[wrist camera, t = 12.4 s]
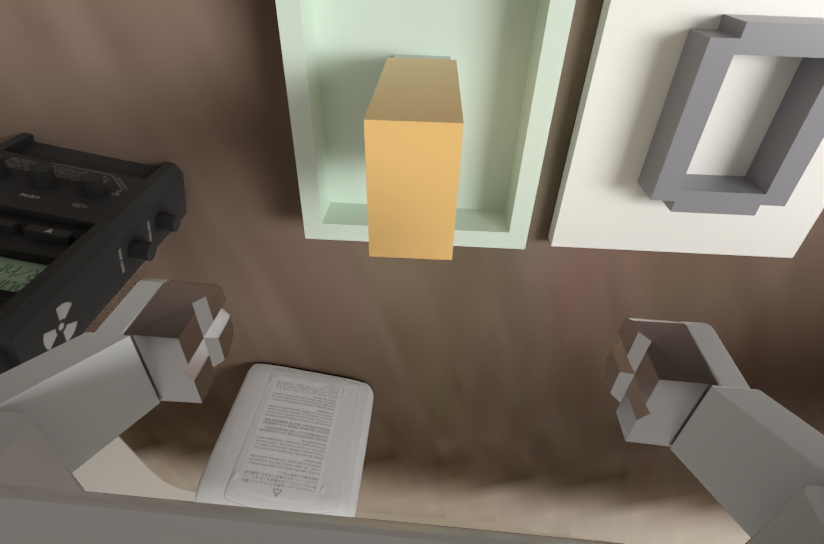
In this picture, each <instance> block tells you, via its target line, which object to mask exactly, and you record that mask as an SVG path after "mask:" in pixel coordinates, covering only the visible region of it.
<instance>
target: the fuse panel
mask: <svg viewBox="0 0 824 544" xmlns="http://www.w3.org/2000/svg"><path fill="white" fill-rule="evenodd" d="M823 208H824V0H604V2H603V6H602V10H601V14H600V19H599V23H598V27H597V31H596V36H595V40H594V44H593V48H592V53H591V57H590V61H589V65H588V70H587V74H586V78H585V82H584V87H583V91H582V95H581V99H580V104H579V108H578V112H577V116H576V121H575V125H574V129H573V133H572V137H571V142H570V146H569V150H568V154H567V159H566V163H565V167H564V171H563V176H562V180H561V184H560V188H559V193H558V197H557V201H556V205H555V210H554V214H553V218H552V222H551V227H550V231H549V235H548V238H549V241H550V244H551V246H560V247H581V248H601V249H622V250H642V251H662V252H683V253H703V254H724V255H744V256H764V257H785V258H793V256H794V255H795V253H796V252H797V250H798V248H799V247H800V245H801V244H802V242H803V240H804V239H805V237H806V235H807V234H808V232H809V231H810V229H811V227H812V226H813V224H814V223H815V221H816V219H817V218H818V216H819V215H820V213H821V211H822V210H823Z"/></svg>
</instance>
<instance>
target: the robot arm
mask: <svg viewBox="0 0 824 544" xmlns="http://www.w3.org/2000/svg"><path fill="white" fill-rule="evenodd" d="M225 301H226V298H225V295H224V292H223V288H222V287H220V286H218V285H215V284H206V283H196V282H186V281H177V280H163V279H153V278H145V279H142V280H140V281H139V282H138V283H137V284H136V285H135V286H134V287H133V288H132V290H131V291H130V292H129V293H128V294H127V295H126V297H125V298H124V299H123V300H122V301H121V302H120V304H119V305H118V306H117V307H116V308H115V309H114V310H113V312H112V313H111V314H110V315H109V316H108V317H107V319H106V320H105V321H104V322H103V323H102V324H101V325H100V327H99V328H98V329H97V330H96V331H95V332H94V333H91V332H86V333H84V334H82V335H80V336H78V337H76V338H73V339H71V340H69V341H67V342H65V343H63V344H61V345H59V346H57V347H55V348H53V349H51V350H49V351H47V352H45V353H43V354H41V355H39V356H37V357H35V358H33V359H31V360H29V361H27V362H25V363H23V364H21V365H19V366H17V367H14V368H12V369H10V370H8V371H6V372H4V373H2V374H0V544H622V543H612V542H602V541H592V540H581V539H571V538H560V537H551V536H540V535H530V534H520V533H510V532H499V531H488V530H479V529H469V528H457V527H448V526H438V525H427V524H417V523H407V522H395V521H386V520H375V519H365V518H355V517H345V516H334V515H324V514H313V513H303V512H293V511H282V510H272V509H262V508H252V507H241V506H231V505H221V504H211V503H200V502H190V501H179V500H169V499H159V498H149V497H138V496H129V495H118V494H108V493H98V492H87V491H85V490H84V489H83V487H82V486H81V485H80V483H79V482H78V481H77V479H76V478H75V477H74V476H73V474H72V472H73V471H75V470H76V469H77V468H78V467H80V466H81V465H82V464H83V463H85V462H86V461H87V460H88V459H90V458H91V457H92V456H94V455H95V454H96V453H97V452H99V451H100V450H101V449H102V448H104V447H105V446H106V445H107V444H109V443H110V442H111V441H112V440H114V439H115V438H116V437H118V436H119V435H120V434H121V433H123V432H124V431H125V430H126V429H128V428H129V427H130V426H131V425H133V424H134V423H135V422H136V421H138V420H139V419H140V418H142V417H143V416H144V415H145V414H147V413H148V412H149V411H150V410H152V409H153V408H154V407H155V406H157V405H158V404H159V403H160V401H175V402H191V403H202V402H203V400H204V399H205V397H206V395H207V393H208V391H209V389H210V387H211V385H212V383H213V381H214V379H215V378H216V375H215V372H214V369H213V367H215V366H216V365H218V364H219V363H221V362H222V361H224V360H225V358H226V356H227V354H228V352H229V350H230V346H231V342H232V337H233V325H232V321H231V316H230V315H229V314H228V313H227V312H225V311H224V310H223V309H222V306H223V304H224V303H225ZM618 333H619V336H620V339H621V342H619V343H618V344H616V345H615V346H613V347H612V348H611V350H610V353H609V355H608V358H607V364H606V379H607V385H608V388H609V391H610V394H611V395H613V396H614V397H615V398H616V399H617V400H618V401H619V402H620V405H619V407H618V409H617V411H616V414H617V417H618V420H619V423H620V426H621V429H622V432H623V435H624V438H625V441H627V442H636V443H644V444H653V445H662V446H670V447H671V448H670V449H671V450H672V451H673V453H674V454H675V455H676V456H677V457H678V458H679V459H680V460H681V461H682V462H683V464H684V465H685V466H686V467H687V468H688V469H689V470H690V471H691V472H692V473H693V475H694V476H695V477H696V478H697V479H698V480H699V481H700V482H701V483H702V484H703V486H704V487H705V488H706V489H707V490H708V491H709V492H710V493H711V494H712V495H713V497H714V498H715V499H716V500H717V501H718V502H719V503H720V504H721V505H722V506H723V508H724V509H725V510H726V511H727V512H728V513H729V514H730V515H731V516H732V517H733V519H734V520H735V521H736V522H737V523H738V524H739V525H740V526H741V527H742V528H743V530H744V531H745V532H746V533H747V534H748V535H749V536H750V537H751V539H750V540H748V541H747V542H746V543H745V544H824V435H823V434H822V433H820V432H819V431H817V430H816V429H814V428H813V427H812V426H810V425H809V424H807V423H806V422H804V421H803V420H802V419H800V418H799V417H797V416H796V415H795V414H793V413H792V412H790V411H789V410H787V409H786V408H785V407H783V406H782V405H780V404H779V403H777V402H776V401H775V400H773V399H772V398H770V397H769V396H767V395H766V394H765V393H763V392H762V391H760V390H758V389H750V387H749V385H748V384H747V382H746V381H745V379H744V377H743V376H742V374H741V373H740V371H739V369H738V368H737V366H736V364H735V363H734V361H733V360H732V358H731V356H730V355H729V353H728V352H727V350H726V348H725V347H724V345H723V343H722V342H721V340H720V339H719V337H718V335H717V334H716V332H715V330H714V329H713V328H712V327H711V326H710V325H708V324H707V323H698V322H682V321H680V322H676V321H662V320H649V319H635V318H627V319H626V320H625V321H624V322H623V323H622V325H621V327H620V329H619V331H618Z"/></svg>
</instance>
